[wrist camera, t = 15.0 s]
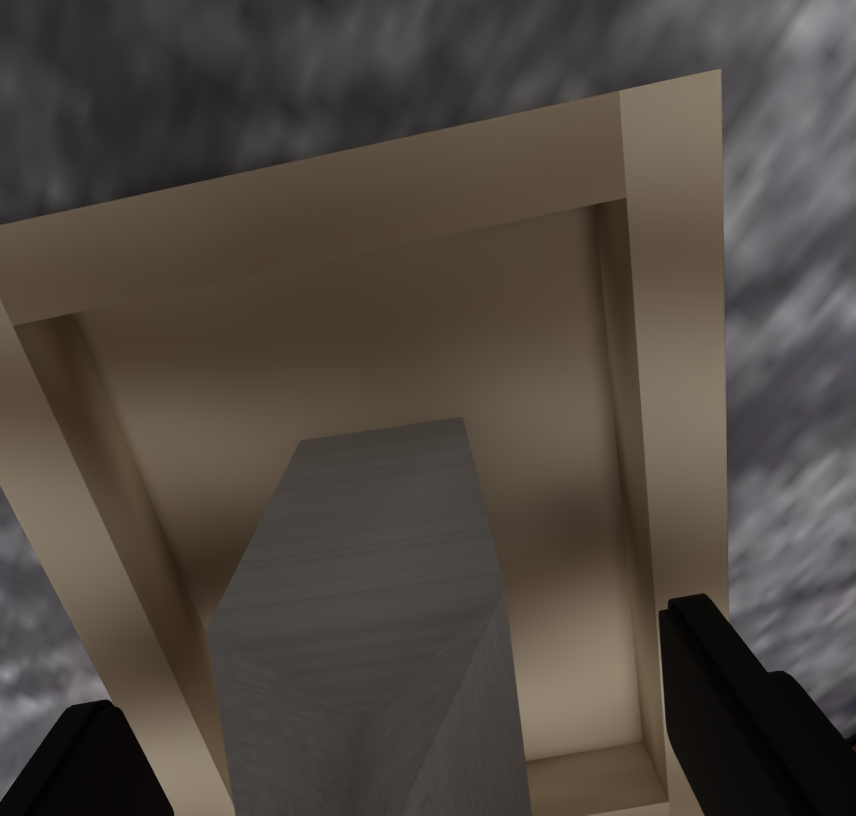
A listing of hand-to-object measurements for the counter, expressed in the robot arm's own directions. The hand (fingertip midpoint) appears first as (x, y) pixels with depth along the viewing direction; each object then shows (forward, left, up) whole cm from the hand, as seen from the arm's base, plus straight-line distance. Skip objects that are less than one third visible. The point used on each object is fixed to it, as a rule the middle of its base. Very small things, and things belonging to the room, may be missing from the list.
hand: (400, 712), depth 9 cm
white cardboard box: (0, 0, -4) cm, 5 cm away
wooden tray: (0, 0, -5) cm, 5 cm away
